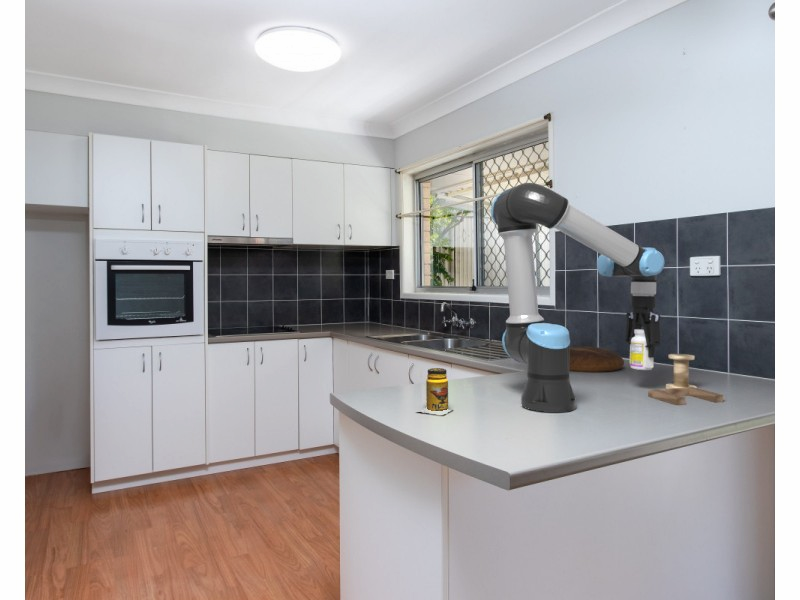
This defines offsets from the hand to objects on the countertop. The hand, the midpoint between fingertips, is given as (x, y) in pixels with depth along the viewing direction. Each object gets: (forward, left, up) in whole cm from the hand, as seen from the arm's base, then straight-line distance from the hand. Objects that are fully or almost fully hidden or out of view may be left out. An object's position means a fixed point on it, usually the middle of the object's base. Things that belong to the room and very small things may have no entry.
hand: (641, 365), depth 174 cm
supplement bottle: (0, 0, -1) cm, 1 cm away
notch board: (+4, -15, -8) cm, 17 cm away
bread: (+9, +45, -8) cm, 47 cm away
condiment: (-73, -10, -8) cm, 75 cm away
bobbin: (+13, -3, -8) cm, 15 cm away
